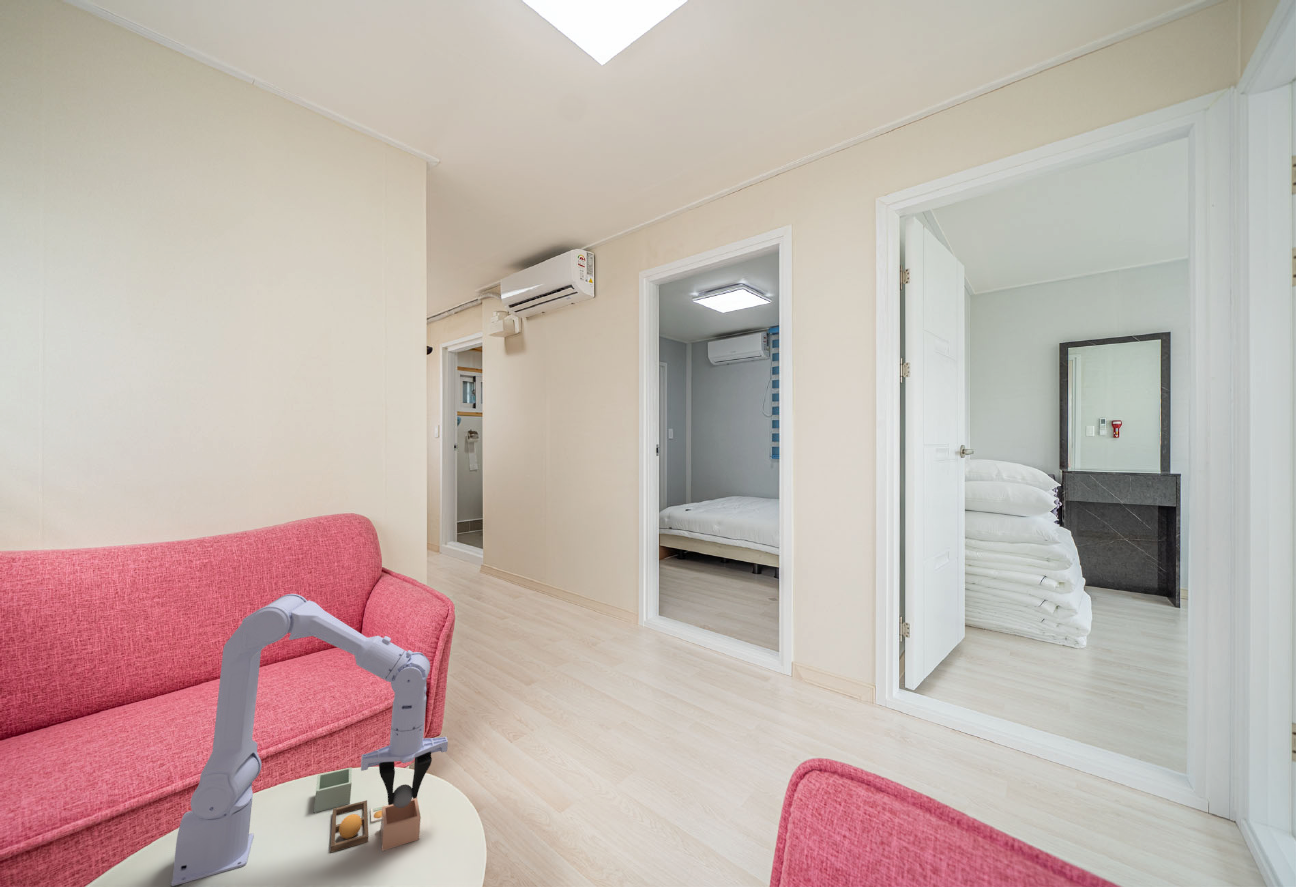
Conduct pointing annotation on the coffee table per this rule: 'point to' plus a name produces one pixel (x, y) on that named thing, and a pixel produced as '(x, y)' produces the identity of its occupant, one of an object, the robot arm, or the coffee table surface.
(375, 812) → the card
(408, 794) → the grey ball
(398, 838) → the pink open box
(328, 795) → the sage open box
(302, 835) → the coffee table surface
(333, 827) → the rack
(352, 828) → the orange ball
